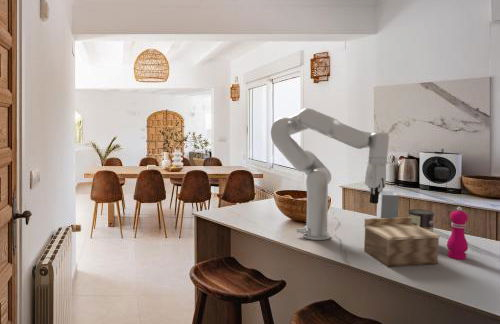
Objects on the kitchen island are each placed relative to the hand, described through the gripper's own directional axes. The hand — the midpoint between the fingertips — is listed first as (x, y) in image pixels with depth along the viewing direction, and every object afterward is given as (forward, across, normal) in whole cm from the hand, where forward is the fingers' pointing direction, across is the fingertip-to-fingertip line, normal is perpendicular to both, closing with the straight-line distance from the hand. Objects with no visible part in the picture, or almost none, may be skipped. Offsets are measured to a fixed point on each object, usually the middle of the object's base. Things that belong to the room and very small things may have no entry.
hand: (373, 202), depth 164 cm
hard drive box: (+18, -12, +14) cm, 26 cm away
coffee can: (+17, +4, +22) cm, 28 cm away
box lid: (+7, +20, +1) cm, 21 cm away
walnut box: (+17, +20, +2) cm, 26 cm away
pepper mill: (+16, +22, +25) cm, 37 cm away
